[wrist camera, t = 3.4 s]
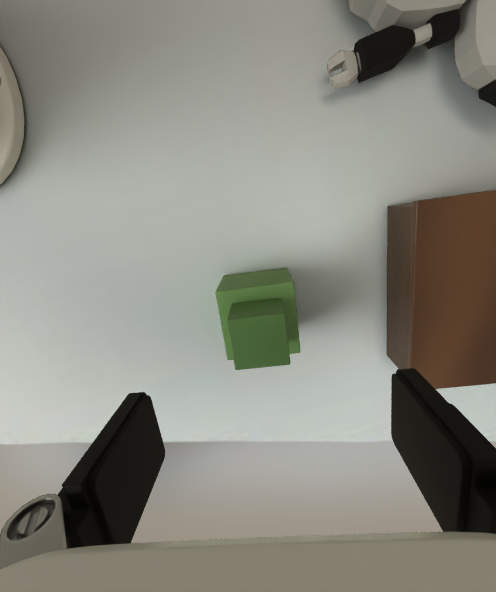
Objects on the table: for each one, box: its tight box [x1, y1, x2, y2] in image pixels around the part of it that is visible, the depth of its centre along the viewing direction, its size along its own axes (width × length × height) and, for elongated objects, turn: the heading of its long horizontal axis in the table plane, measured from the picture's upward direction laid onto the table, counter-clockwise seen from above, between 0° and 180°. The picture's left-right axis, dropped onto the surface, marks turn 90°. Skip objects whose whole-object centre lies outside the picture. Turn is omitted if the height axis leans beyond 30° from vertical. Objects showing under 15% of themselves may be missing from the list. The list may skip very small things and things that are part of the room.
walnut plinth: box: [387, 190, 496, 389], centre depth 19 cm, size 13×13×4 cm
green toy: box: [216, 268, 300, 370], centre depth 19 cm, size 5×5×7 cm
